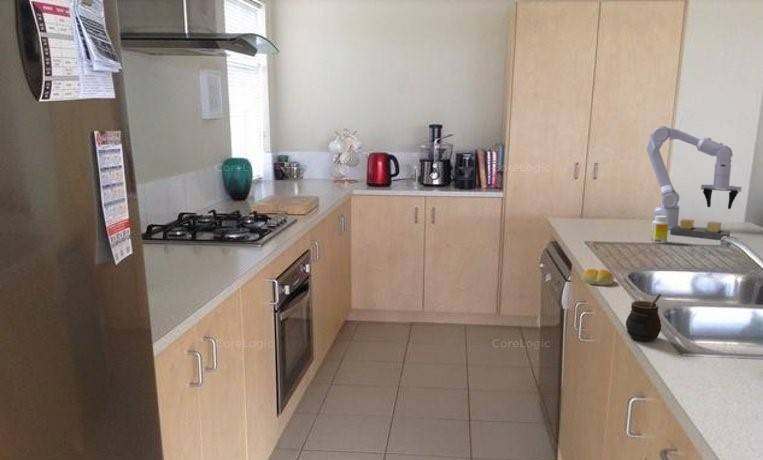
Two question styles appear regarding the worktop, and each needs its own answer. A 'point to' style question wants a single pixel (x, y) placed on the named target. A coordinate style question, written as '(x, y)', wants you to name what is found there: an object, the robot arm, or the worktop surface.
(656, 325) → the mate gourd
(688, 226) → the beige wooden block
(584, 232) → the worktop surface
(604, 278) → the bread roll
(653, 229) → the supplement bottle
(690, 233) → the rail
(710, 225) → the tan wooden block
